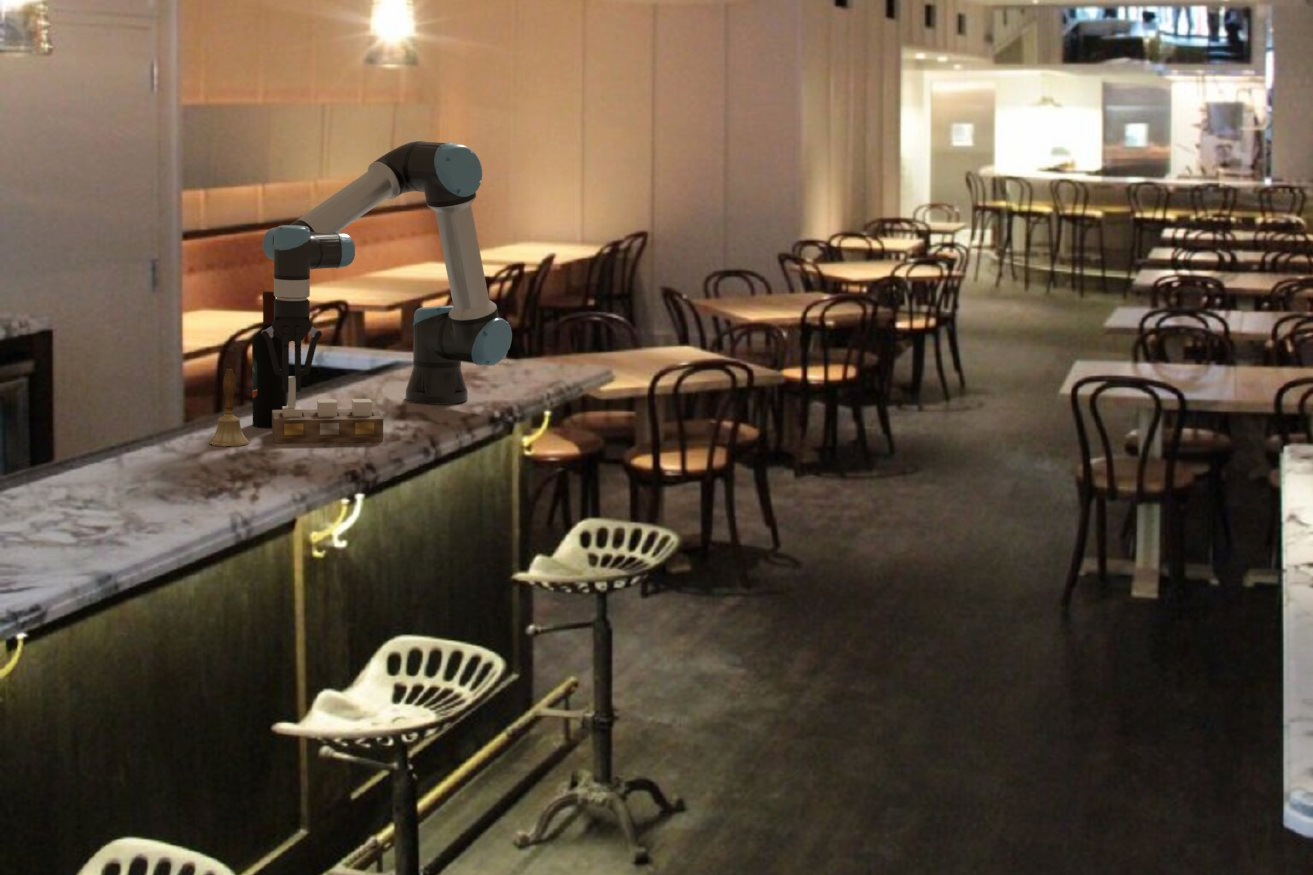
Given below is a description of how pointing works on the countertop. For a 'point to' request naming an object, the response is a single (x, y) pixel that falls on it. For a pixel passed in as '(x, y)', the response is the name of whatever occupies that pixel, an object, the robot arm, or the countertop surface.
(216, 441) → the hand bell
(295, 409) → the outer button
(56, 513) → the countertop surface
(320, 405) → the middle button
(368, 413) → the inner button
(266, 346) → the wine bottle
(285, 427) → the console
